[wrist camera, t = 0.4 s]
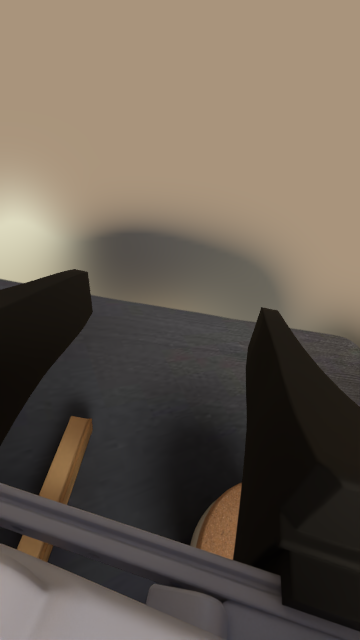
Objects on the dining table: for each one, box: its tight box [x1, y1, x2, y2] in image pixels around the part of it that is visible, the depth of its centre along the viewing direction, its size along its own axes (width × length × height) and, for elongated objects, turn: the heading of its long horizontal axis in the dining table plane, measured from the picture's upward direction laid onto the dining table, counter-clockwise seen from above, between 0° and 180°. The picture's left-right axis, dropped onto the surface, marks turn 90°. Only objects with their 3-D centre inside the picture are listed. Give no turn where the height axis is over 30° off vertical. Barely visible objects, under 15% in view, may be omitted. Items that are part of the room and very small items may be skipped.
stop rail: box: [17, 416, 93, 562], centre depth 21 cm, size 16×2×3 cm, turn 173°
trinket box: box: [190, 483, 242, 560], centre depth 19 cm, size 11×11×9 cm
